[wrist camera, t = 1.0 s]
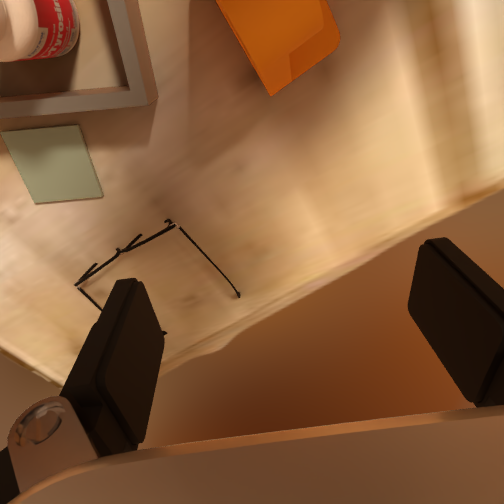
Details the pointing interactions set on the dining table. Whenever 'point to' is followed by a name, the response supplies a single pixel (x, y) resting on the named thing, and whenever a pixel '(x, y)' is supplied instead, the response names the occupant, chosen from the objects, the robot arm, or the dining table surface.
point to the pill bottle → (37, 29)
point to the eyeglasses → (132, 246)
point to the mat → (53, 163)
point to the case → (134, 95)
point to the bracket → (282, 36)
